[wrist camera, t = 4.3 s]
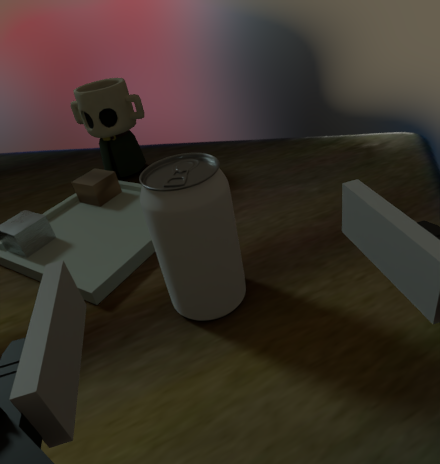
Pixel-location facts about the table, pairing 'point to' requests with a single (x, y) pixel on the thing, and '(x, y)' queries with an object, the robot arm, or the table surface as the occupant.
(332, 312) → the table surface
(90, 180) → the walnut block
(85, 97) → the character mug
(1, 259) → the tray
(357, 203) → the robot arm
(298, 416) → the table surface
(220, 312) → the can
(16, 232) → the grey metal block
